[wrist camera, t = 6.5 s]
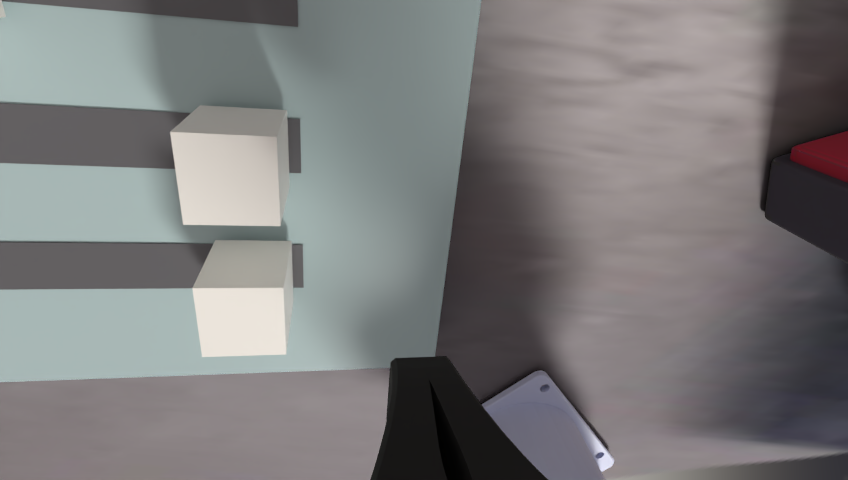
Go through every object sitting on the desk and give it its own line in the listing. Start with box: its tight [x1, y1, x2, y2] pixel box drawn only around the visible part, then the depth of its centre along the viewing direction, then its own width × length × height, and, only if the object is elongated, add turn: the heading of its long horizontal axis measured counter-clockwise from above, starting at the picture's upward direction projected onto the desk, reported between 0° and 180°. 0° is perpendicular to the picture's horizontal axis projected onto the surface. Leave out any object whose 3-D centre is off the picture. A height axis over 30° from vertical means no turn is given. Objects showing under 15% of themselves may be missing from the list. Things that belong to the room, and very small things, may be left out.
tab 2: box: [192, 240, 294, 357], centre depth 16 cm, size 2×2×3 cm
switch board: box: [0, 0, 481, 382], centre depth 17 cm, size 20×16×2 cm
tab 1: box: [170, 105, 290, 226], centre depth 14 cm, size 2×2×3 cm
